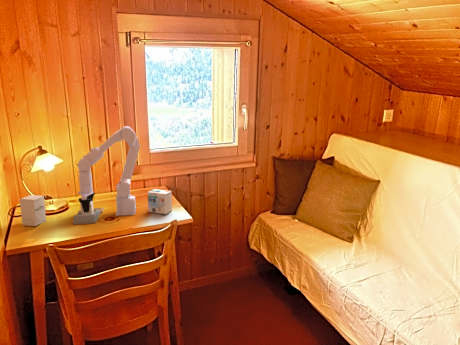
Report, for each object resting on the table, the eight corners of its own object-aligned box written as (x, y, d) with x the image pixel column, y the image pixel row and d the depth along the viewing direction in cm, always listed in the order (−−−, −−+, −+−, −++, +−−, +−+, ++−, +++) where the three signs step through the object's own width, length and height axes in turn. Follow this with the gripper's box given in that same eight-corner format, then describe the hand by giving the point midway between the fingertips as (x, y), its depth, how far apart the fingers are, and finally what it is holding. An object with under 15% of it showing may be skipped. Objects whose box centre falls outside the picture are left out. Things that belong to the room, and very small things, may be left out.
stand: (104, 209, 192) (104, 207, 192) (102, 212, 187) (102, 211, 186) (92, 209, 191) (92, 208, 191) (90, 213, 186) (90, 212, 185)
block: (83, 213, 183) (82, 201, 182) (93, 212, 184) (92, 201, 182) (81, 216, 178) (80, 204, 177) (91, 215, 179) (91, 204, 178)
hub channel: (100, 213, 185) (99, 206, 185) (95, 223, 172) (95, 214, 171) (79, 214, 184) (78, 207, 183) (73, 224, 170) (72, 216, 169)
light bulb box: (147, 211, 189) (147, 191, 187) (154, 208, 195) (154, 188, 193) (166, 214, 185) (165, 193, 183) (172, 210, 191) (172, 190, 189)
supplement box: (36, 226, 167) (33, 199, 165) (21, 225, 169) (18, 198, 166) (47, 221, 174) (44, 195, 172) (33, 219, 176) (30, 194, 173)
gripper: (80, 179, 184) (82, 205, 187) (73, 187, 170) (76, 214, 173) (94, 179, 185) (96, 205, 188) (89, 186, 171) (91, 214, 174)
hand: (88, 209), depth 180 cm, fingers open, 7 cm apart
